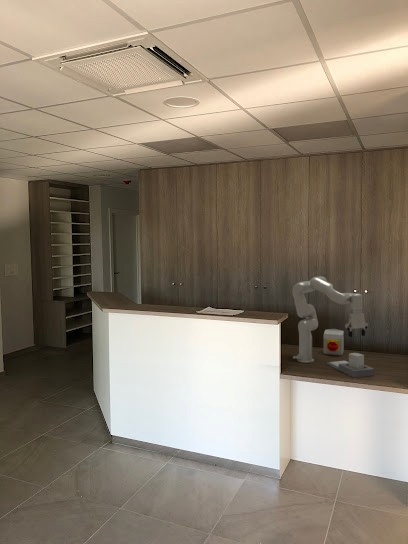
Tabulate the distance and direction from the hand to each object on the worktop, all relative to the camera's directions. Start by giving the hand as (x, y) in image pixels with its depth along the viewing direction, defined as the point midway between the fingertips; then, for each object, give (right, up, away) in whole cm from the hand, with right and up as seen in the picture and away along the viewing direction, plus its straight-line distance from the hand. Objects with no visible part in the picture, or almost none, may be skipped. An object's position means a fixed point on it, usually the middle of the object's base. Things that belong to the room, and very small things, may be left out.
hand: (356, 336), depth 312 cm
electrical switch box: (-2, -22, +49) cm, 53 cm away
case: (-3, -24, +7) cm, 26 cm away
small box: (-1, -25, -1) cm, 25 cm away
